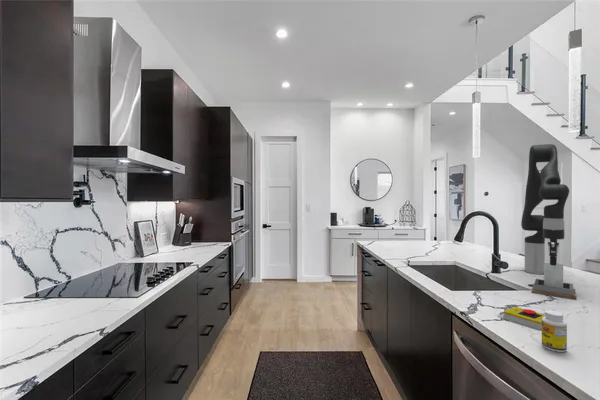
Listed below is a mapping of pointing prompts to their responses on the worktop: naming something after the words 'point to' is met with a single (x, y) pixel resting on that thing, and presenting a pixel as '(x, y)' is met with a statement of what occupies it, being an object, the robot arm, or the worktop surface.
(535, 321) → the emergency button
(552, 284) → the skincare box
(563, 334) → the supplement bottle
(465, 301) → the worktop surface
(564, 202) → the robot arm
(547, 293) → the dock socket
